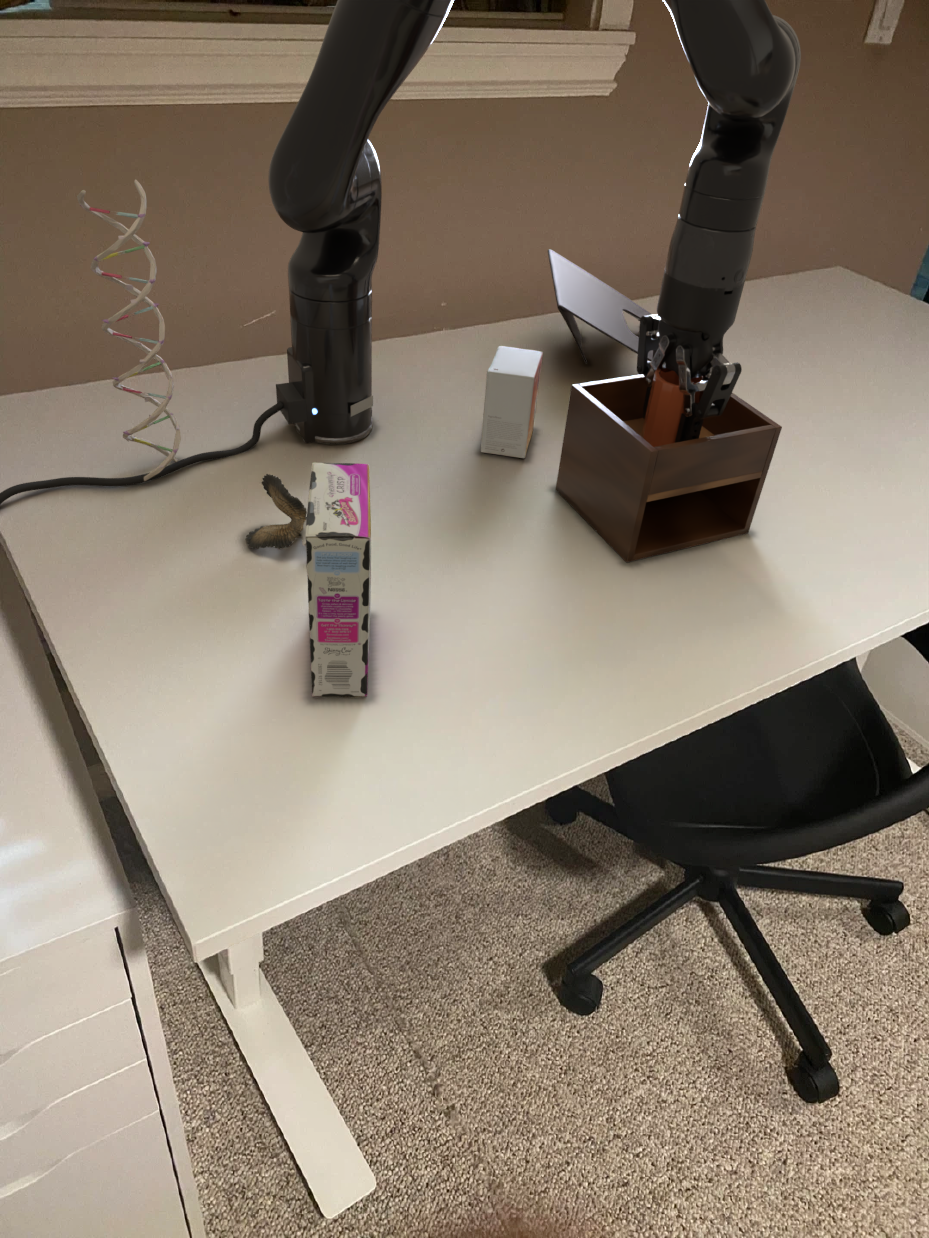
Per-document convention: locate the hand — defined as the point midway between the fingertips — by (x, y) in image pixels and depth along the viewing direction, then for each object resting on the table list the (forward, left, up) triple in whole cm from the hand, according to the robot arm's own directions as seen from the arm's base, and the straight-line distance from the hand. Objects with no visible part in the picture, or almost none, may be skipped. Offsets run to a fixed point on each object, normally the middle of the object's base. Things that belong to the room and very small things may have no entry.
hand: (668, 432), depth 96 cm
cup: (0, 0, -2) cm, 2 cm away
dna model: (-49, +26, -10) cm, 56 cm away
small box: (-8, +20, -10) cm, 23 cm away
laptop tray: (+20, +39, -10) cm, 45 cm away
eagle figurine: (-39, +8, -10) cm, 41 cm away
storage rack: (0, 0, -10) cm, 10 cm away
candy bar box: (-40, -10, -10) cm, 43 cm away
